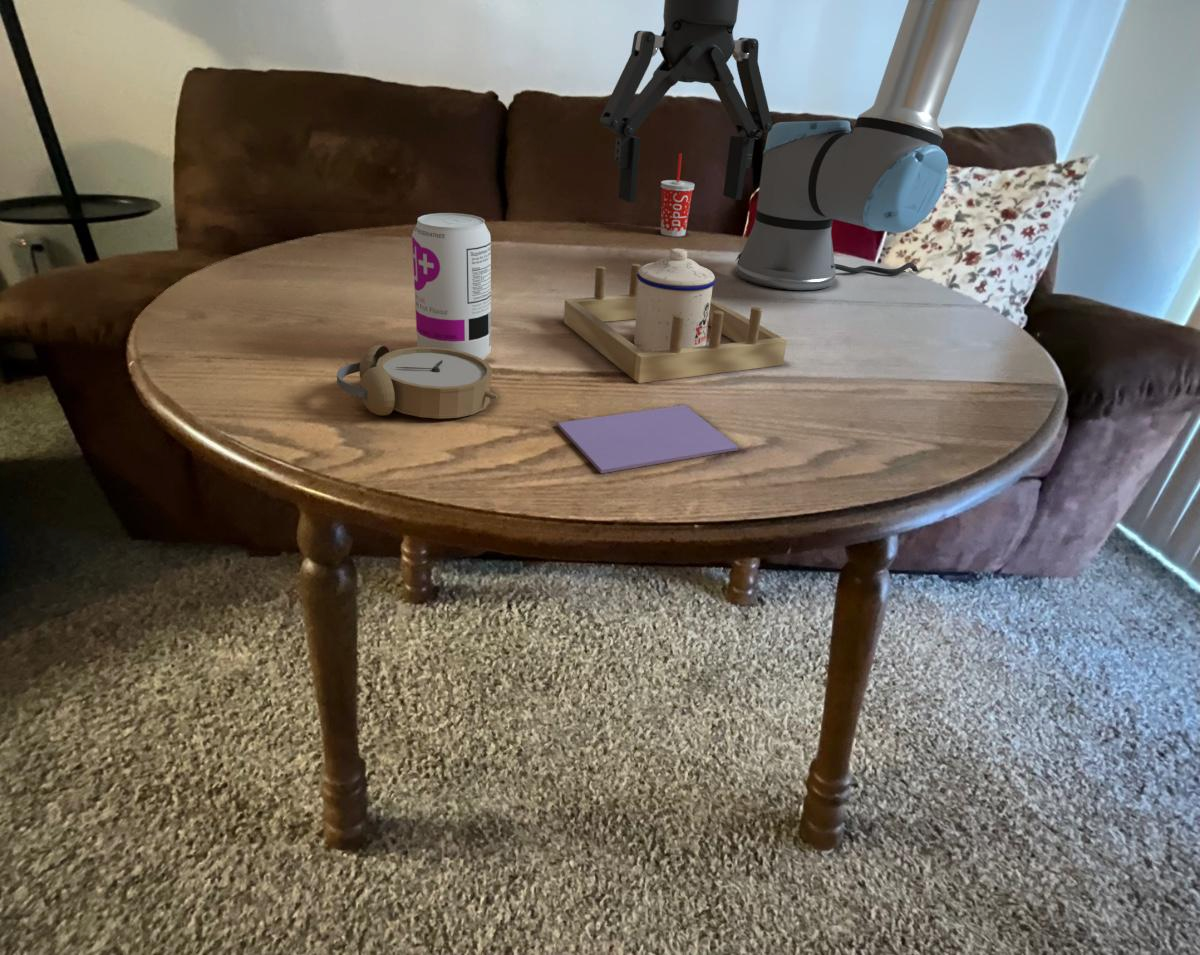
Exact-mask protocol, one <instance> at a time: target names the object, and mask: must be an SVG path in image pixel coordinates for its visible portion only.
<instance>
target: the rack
mask: <svg viewBox="0 0 1200 955" xmlns="http://www.w3.org/2000/svg"><path fill="white" fill-rule="evenodd" d="M641 267H642V265H641V264H639V263H632V264H631V266H630V279H629V294H618V295H606V296H605V280H606V267H605V266H602V265H597V266H595V276H594V294H593V295H594V296H593V297H579V298H568V299H564V307H563V308H564V309H563V310H564V311H563V323H564V324H565V325H566V326H567V327H568V328H569V329H571V330H572V331H573V332H574V333H575V334H577V335H578V336H579V337H581V338H582V339H583V340H584V341H586V342H587V343H588V344H589V345H591V346H592V347H593V348H594V349H595V350H597V351H598V352H599V353H600V354H602V355H603V356H604V357H605V358H606V359H608V360H609V361H610V362H611V363H613V365H615V366H616V367H617V368H618V369H620V370H621V371H622V372H623V373H625V374H626V375H627V376H629V378H631V379H632V380H633V381H635V382H637V383H638V384H644V383H650V382H652V383H653V382H659V381H667V380H674V379H683V378H690V377H692V378H693V377H699V376H707V375H708V376H709V375H715V374H716V375H717V374H722V373H731V372H738V371H739V372H741V371H747V370H754V369H755V370H756V369H762V368H763V369H764V368H771V367H778V366H784V361H785V354H786V348H787V343H788V340H786V339H784V338H783V337H782V336H780V335H778V334H777V333H775V332H773V331H771V330H769V329H768V328H766V327H764V326H762V325H761V318H762V312H763V309H762V308H761V307H758V306H753V307H751V308H750V314H749V318H748V317H746V316H744V315H742V314H741V313H739V312H737V311H735V310H733V309H732V308H730V307H729V306H726V305H724V304H723V303H720V302H719V301H717V300H715V299H714V298H712V297H711V304H710V312H709V321H708V327H710V331H709V332H710V333H709V340H708V345H705V346H700V347H691V348H682V349H681V342H682V332H683V323H684V316H683V315H680V314H675V315H673V321H672V330H671V340H670V350H663V351H654V352H643V351H642V350H640V349H639V348H638V347H636V345H635V343H632V342H631V341H630V340H628V339H627V338H626V337H624V336H623V335H622V334H621V333H619V332H617V330H615V329H614V328H612V327H611V326H610V325H609V324H607V323H608V322H618V321H629V320H636V311H637V298H638V285H639V279H638V277H637V274H638V272H639V270H640V268H641ZM605 322H607V323H605ZM722 336H725V337H726V338H728V339H730V340H732V341H733V342H728V343H721V338H722Z"/></svg>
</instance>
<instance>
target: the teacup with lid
mask: <svg viewBox="0 0 1200 955" xmlns="http://www.w3.org/2000/svg"><path fill="white" fill-rule="evenodd" d="M637 277H638V279H639V285H638V298H637V311H636V319H635V324H634V337H633V344H634V345H635V346H636V347H638V348H639V349H640V350H642V351H643V352H644V353H645V352H654V351H663V350H670V340H671V330H672V321H673V315H675V314H680V315H683V316H684V323H683V332H682V342H681V349H682V348H691V347H700V346H707V336H708V329H709V325H708V321H709V312H710V304H711V298H712V294H713V288H714V285H716V277H715V274H714V273H713V271H711V269H709V268H707V267H705V266H702V265H700V264H698V263H697V262H696V261H695V260H693V259H691V258H688V251H687V250H686V249H684V248H676V247H675V248H672V249H671V250H670V251H669V256H665V257H662V258H660V259H659V260H657V261H655V262H648V263H646V264H644V265H641V268H640V270H639V272H638V274H637Z"/></svg>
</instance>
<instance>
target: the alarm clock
mask: <svg viewBox="0 0 1200 955" xmlns="http://www.w3.org/2000/svg"><path fill="white" fill-rule="evenodd" d="M355 373H359V378H360V381H359V385H356V384H353V383H350V382H348V381H347V380H345V379H343V378H344V377H347V376H349V375H352V374H355ZM492 378H493V368H492V366H491V365H490V364H489V363H488V361H486V360H485V359H484V360H482V359H481V358H479V357H477V356H474V355H471V354H469V353H466V352H462V351H457V350H452V349H447V348H436V347H417V346H414V347H412V346H411V347H406V348H398V349H395V350H392V351H390V350H389V348H388V347H387V346H386V345H383V344H378V345H374V346H371V347H369V348H367V350H366V351H365V352H364V353H363V354H362V357H361V359H360V361H358V362H353V363H350V364H346V365H343V366H341V367H340V368H339V369H338V370H337V373H336V384H337V387H338V388H339V389H340V390H341V391H343V392H345V393H347V394H351V395H352V396H353V395H354V396H356V397H359V398H361V401H362V403H363V405H364V407H366V409H367V411H369V412H370V413H372V414H374V415H376V416H381V417H382V416H390V415H391V414H392V413H393V411H396V412H399V413H401V414H405V415H410V416H414V417H419V418H428V419H437V420H438V419H439V420H440V419H458V418H462V417H463V418H464V417H467V416H472V415H475V414H477V413H479V412H481V411H484V410H485V409H486V408H487V407H488V406H489V405H490V402H491V399H492V400H497V399H498V394H496V393H494V392H492V391H491V384H492V383H491V382H492Z"/></svg>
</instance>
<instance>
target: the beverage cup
mask: <svg viewBox="0 0 1200 955" xmlns="http://www.w3.org/2000/svg"><path fill="white" fill-rule="evenodd" d="M682 156H683V153H678V160H677V172H676V180H675V179H666V180H662V181H660V188H661V206H660V207H661V208H660V234H661V235H663V236H667V237H684V236H686V232H687V227H688V220H689V215H690V208H691V201H692V196H693V191H694V190H695V183H694V182H691V181H686V180H680V176H681V167H682Z"/></svg>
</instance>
